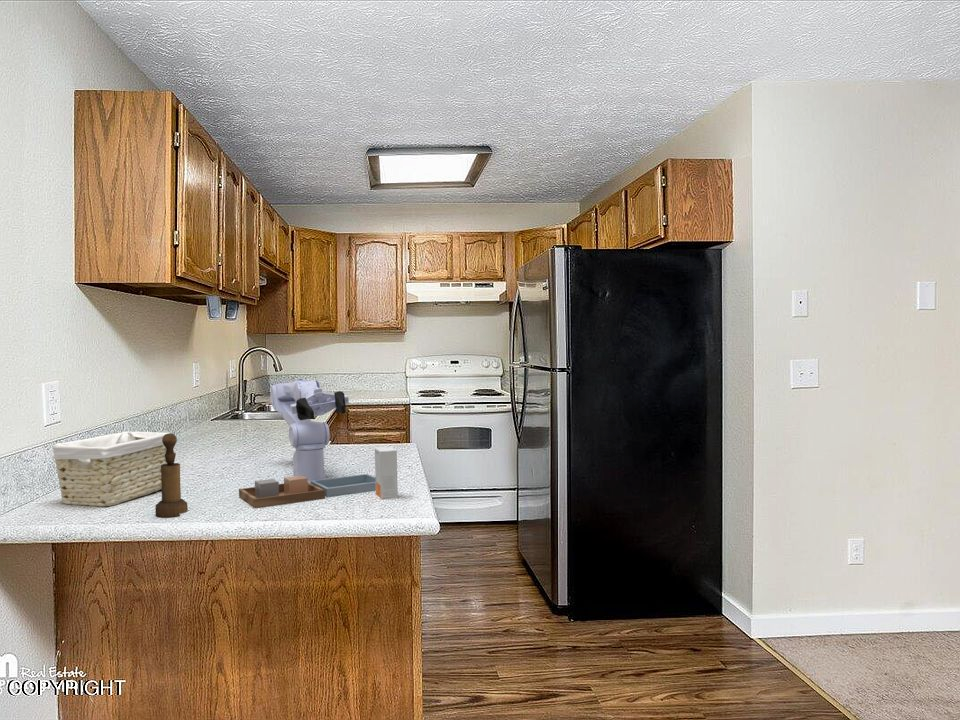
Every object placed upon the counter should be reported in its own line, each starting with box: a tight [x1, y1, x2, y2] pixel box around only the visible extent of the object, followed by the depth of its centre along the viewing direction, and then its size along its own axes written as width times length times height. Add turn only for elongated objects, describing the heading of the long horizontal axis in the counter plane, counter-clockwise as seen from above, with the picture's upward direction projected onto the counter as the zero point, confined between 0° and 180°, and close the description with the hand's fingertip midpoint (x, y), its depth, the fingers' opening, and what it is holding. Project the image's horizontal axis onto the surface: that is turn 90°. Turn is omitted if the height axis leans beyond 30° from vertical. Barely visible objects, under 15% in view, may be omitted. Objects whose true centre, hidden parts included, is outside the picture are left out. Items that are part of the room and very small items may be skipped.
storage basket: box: [52, 430, 170, 508], centre depth 181 cm, size 24×16×15 cm
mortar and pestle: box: [154, 432, 189, 518], centre depth 162 cm, size 7×6×18 cm
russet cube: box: [283, 475, 308, 495], centre depth 176 cm, size 4×4×4 cm
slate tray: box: [309, 473, 376, 498], centre depth 183 cm, size 12×16×2 cm
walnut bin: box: [238, 482, 326, 509], centre depth 174 cm, size 14×17×2 cm
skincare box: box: [374, 446, 399, 500], centre depth 175 cm, size 6×4×12 cm
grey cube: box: [254, 478, 280, 498], centre depth 172 cm, size 4×4×4 cm
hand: (328, 412), depth 178 cm, fingers open, 7 cm apart
